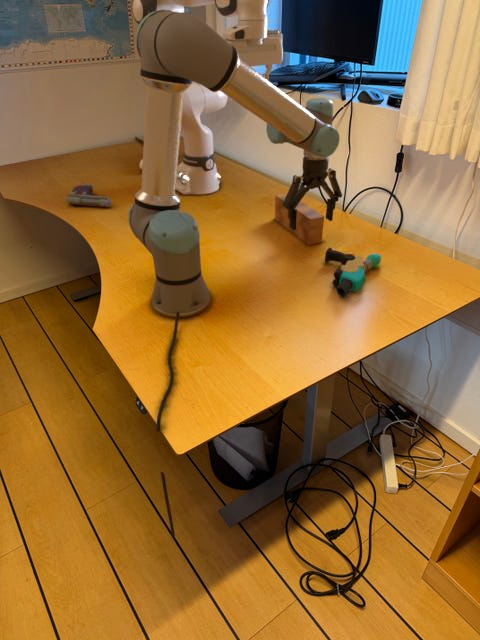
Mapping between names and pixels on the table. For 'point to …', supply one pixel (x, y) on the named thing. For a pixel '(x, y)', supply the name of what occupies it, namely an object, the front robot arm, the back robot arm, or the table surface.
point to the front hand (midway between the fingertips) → (311, 223)
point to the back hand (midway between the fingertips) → (252, 82)
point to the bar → (301, 220)
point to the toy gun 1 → (87, 197)
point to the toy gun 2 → (350, 270)
